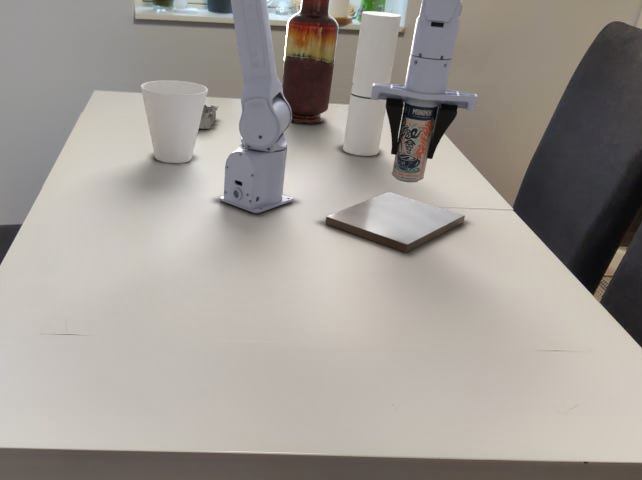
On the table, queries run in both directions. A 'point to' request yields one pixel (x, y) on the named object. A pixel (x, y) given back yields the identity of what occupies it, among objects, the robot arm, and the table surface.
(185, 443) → the table surface
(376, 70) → the cylindrical container
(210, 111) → the egg carton
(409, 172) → the beer can
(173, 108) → the cup
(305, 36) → the vase
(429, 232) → the serving board
